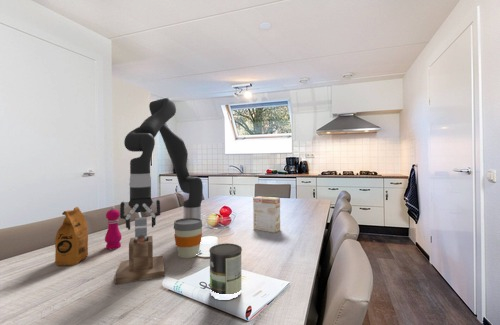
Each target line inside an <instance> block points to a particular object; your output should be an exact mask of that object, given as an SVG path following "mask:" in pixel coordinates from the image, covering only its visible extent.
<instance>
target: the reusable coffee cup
mask: <svg viewBox="0 0 500 325" xmlns="http://www.w3.org/2000/svg"><path fill="white" fill-rule="evenodd" d="M202 221H203V220H202V218H201V219H198V218H184V219H183V218H179V219H175V220H174V223H173V230H174V242H175V243H174V244H175V246H176V248H177V255H178V257H179V258H182V259H190V258H194V257H196V256H195V255H196V254H198V253H199V252H200V246H201V245H200V244H201V243H202V239H201V236H202V237H203V231H202V232H201V228H202V229H203V222H202ZM200 242H201V243H200ZM198 255H199V254H198Z"/></svg>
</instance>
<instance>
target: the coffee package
mask: <svg viewBox="0 0 500 325" xmlns="http://www.w3.org/2000/svg"><path fill="white" fill-rule="evenodd" d="M61 214H62V216H65V217H64V219H63V222H62V224H61V225H60V226H59V228H58V230H57V231H56V233H55V237H54V238H55V239H54V245H55V246H54V248H55V255H54V256H55V257H54V258H55V259H54V260H55V261H54V263H55V264H56V266H58V267H60V266H74V265H78V264H79V263H80V262H81V261H84V260H86V258H87V256H88V255H89V230H88V229H89V228H88V223H87V219H86V217H85V215H84V214H83V212H82V211H81V209H80V208H79V206H75V207H74V208H73V209H72V210H65V211H63V212H62V213H61Z"/></svg>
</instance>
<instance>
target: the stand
mask: <svg viewBox="0 0 500 325" xmlns="http://www.w3.org/2000/svg"><path fill="white" fill-rule="evenodd" d="M153 239H154V238H153V235H147V241H144V237H142V238H137V242H135V237H130V239H129V243H128V259H127V260H121V261H120V263H119V265H118V269H117V272H116V275H115V279H114V280H115V282H114V283H115V285H118V284H125V283H132V282H137V281H143V280H144V281H145V280H149V279H156V278H162V277H165V263H164V255H157V256H154V252H153V250H154V248H153V247H154V246H153V244H154V243H153V241H154V240H153Z"/></svg>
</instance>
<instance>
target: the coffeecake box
mask: <svg viewBox="0 0 500 325" xmlns="http://www.w3.org/2000/svg"><path fill="white" fill-rule="evenodd" d="M252 200H253V202H252V203H253V204H252V206H253V208H252V209H253V213H252V214H253V215H252V216H253V219H252V220H253V223H252V224H253V230H256V231H263V232H269V233H275V234H276V233H277V232H279V231H281V198H280V197H273V196H259V195H258V196H254V197H253V199H252Z"/></svg>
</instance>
